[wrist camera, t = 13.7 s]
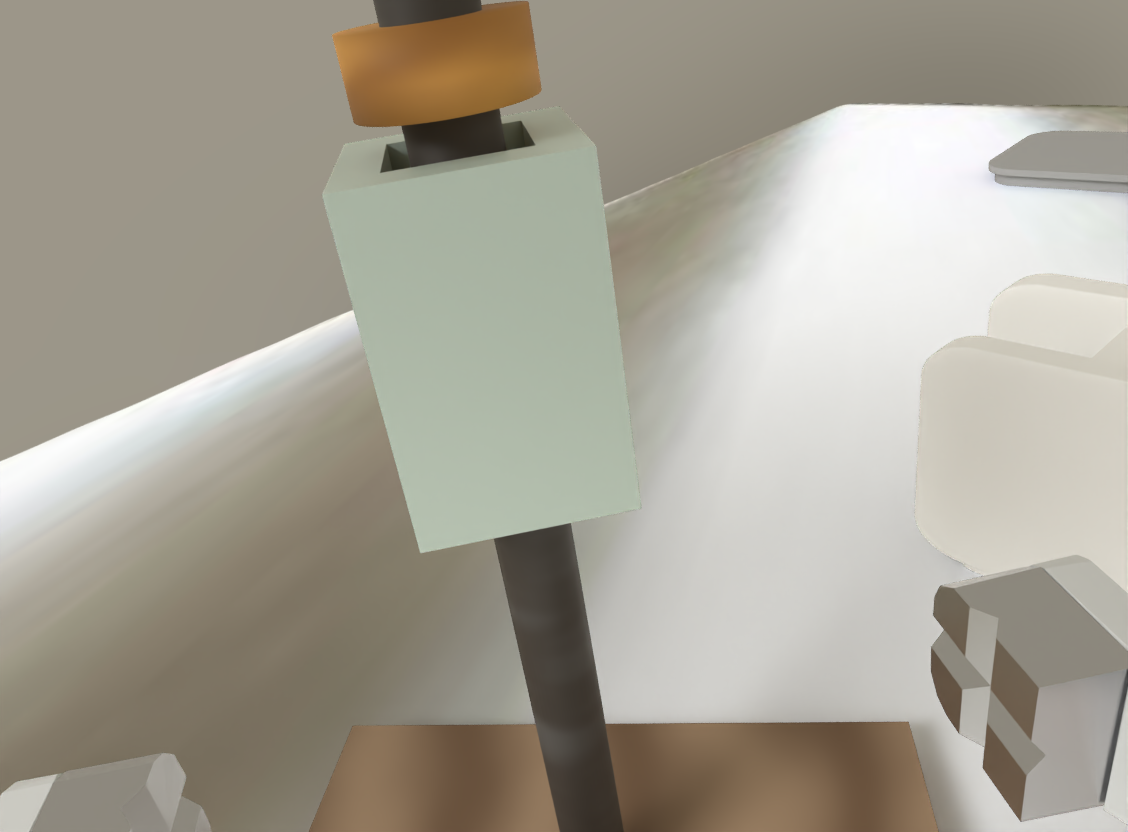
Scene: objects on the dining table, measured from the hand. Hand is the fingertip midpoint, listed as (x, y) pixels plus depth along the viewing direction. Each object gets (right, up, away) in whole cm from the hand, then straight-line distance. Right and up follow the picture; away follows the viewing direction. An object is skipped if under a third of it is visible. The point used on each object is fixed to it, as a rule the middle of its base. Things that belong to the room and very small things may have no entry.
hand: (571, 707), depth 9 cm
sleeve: (-1, +2, +12) cm, 13 cm away
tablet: (+58, +27, +80) cm, 103 cm away
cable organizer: (+25, -4, +33) cm, 41 cm away
